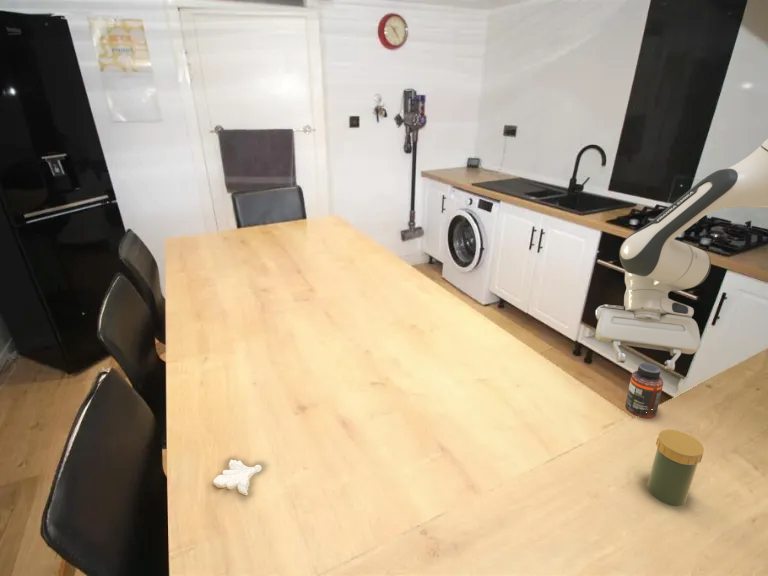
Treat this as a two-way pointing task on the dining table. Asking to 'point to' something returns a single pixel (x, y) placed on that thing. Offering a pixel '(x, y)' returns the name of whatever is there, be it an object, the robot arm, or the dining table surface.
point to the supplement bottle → (644, 391)
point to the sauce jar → (670, 480)
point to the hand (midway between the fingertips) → (644, 365)
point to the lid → (680, 447)
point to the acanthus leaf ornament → (236, 476)
